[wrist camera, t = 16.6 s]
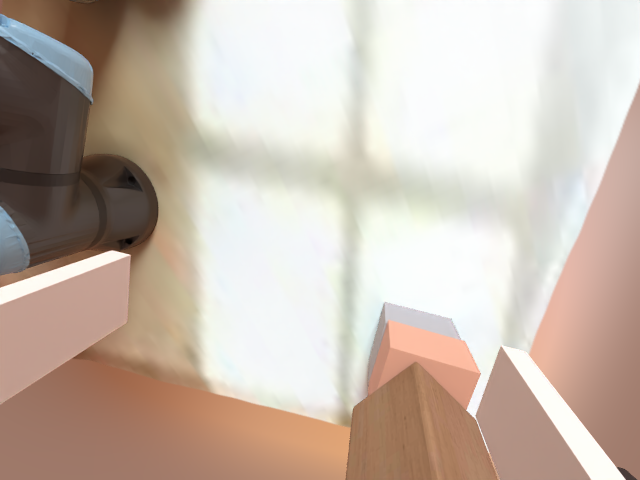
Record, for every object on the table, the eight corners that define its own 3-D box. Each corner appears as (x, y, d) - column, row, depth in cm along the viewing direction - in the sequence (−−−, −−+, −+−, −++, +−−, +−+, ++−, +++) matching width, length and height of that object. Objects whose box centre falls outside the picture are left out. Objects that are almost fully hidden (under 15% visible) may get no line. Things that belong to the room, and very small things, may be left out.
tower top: (368, 383, 48) (367, 420, 41) (388, 319, 45) (390, 347, 38) (440, 405, 47) (451, 446, 40) (464, 341, 44) (480, 373, 37)
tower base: (368, 358, 54) (367, 386, 48) (384, 301, 52) (385, 322, 45) (432, 375, 53) (440, 406, 47) (451, 318, 51) (462, 342, 44)
